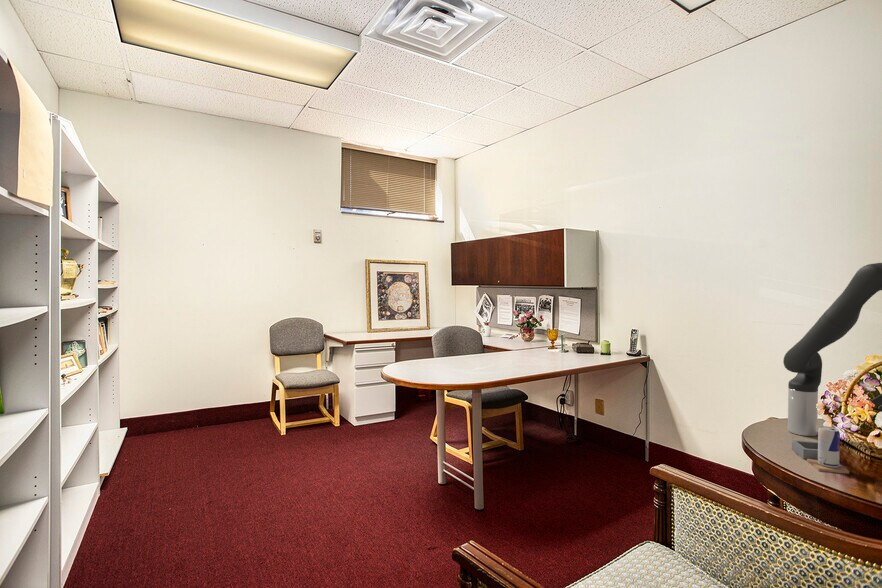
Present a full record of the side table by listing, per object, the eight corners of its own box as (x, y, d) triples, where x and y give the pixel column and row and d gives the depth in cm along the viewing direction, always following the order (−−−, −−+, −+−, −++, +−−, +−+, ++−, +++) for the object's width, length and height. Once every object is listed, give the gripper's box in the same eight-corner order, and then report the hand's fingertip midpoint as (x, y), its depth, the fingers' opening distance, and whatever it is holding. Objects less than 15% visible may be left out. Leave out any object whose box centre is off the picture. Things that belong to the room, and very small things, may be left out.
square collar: (791, 449, 166) (791, 440, 166) (821, 452, 163) (821, 442, 163) (803, 459, 157) (803, 449, 157) (835, 462, 155) (835, 451, 155)
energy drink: (843, 468, 148) (844, 431, 147) (825, 468, 148) (826, 431, 148) (830, 461, 153) (831, 426, 153) (813, 461, 153) (814, 425, 153)
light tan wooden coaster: (807, 461, 156) (807, 458, 156) (835, 463, 154) (835, 461, 154) (818, 470, 148) (818, 468, 148) (849, 473, 146) (849, 471, 146)
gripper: (910, 361, 146) (861, 392, 153) (926, 370, 134) (872, 403, 141) (933, 380, 143) (882, 410, 150) (952, 390, 131) (895, 423, 138)
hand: (877, 407), depth 145 cm, fingers open, 8 cm apart
